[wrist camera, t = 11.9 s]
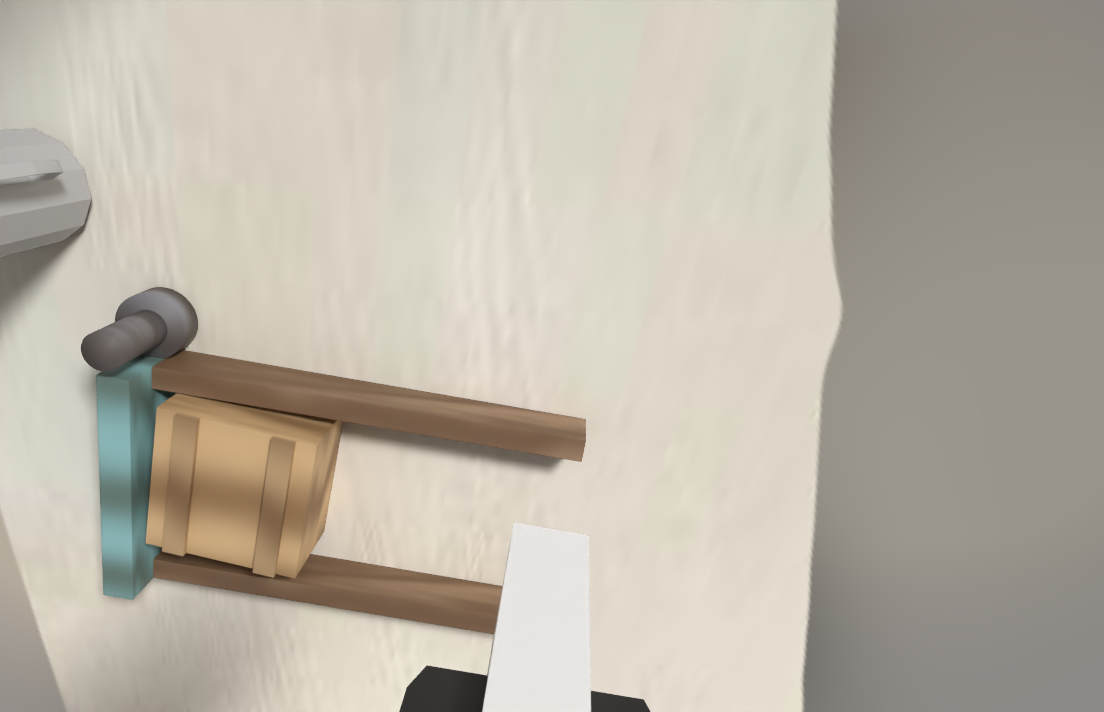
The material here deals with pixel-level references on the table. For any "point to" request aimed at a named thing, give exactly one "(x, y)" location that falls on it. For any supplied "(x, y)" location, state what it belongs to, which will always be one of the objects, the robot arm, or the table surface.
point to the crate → (240, 483)
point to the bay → (164, 369)
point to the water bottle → (39, 191)
